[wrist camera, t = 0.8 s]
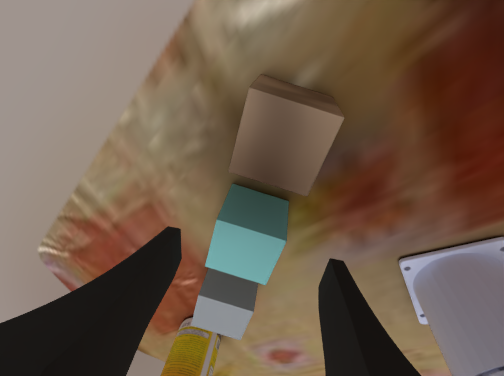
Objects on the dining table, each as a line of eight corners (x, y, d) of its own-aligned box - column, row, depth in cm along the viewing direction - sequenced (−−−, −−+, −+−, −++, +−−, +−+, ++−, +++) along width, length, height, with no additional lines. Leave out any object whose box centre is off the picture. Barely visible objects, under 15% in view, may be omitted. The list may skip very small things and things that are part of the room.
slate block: (260, 267, 26) (253, 311, 22) (248, 295, 29) (240, 340, 25) (214, 253, 26) (198, 295, 22) (206, 282, 29) (190, 325, 25)
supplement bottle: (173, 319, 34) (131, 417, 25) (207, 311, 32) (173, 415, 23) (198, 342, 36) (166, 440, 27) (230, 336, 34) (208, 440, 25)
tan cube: (332, 96, 17) (344, 117, 13) (304, 161, 20) (307, 196, 16) (261, 74, 17) (249, 87, 13) (242, 141, 20) (228, 171, 15)
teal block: (288, 200, 22) (286, 241, 18) (271, 241, 24) (265, 285, 20) (232, 183, 22) (216, 219, 17) (221, 225, 24) (205, 266, 20)
